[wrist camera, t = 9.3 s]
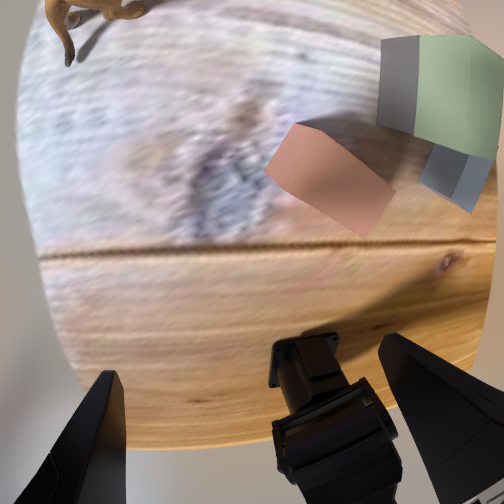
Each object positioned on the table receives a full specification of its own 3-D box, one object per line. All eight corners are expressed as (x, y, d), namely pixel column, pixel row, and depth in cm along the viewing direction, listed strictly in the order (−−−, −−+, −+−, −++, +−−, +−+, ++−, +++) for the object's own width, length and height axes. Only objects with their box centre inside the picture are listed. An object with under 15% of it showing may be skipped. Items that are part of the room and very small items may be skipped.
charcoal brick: (412, 131, 19) (449, 142, 16) (375, 124, 18) (412, 134, 15) (418, 53, 16) (456, 53, 12) (380, 39, 15) (418, 35, 12)
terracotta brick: (363, 173, 20) (396, 191, 17) (335, 214, 21) (364, 239, 18) (293, 122, 17) (321, 130, 14) (263, 170, 18) (283, 189, 15)
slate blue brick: (439, 196, 22) (471, 214, 19) (417, 181, 21) (450, 198, 18) (465, 135, 20) (498, 146, 17) (444, 114, 19) (480, 124, 15)
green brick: (449, 143, 16) (495, 161, 12) (413, 136, 15) (462, 152, 11) (456, 54, 12) (503, 58, 9) (419, 36, 12) (469, 35, 8)
